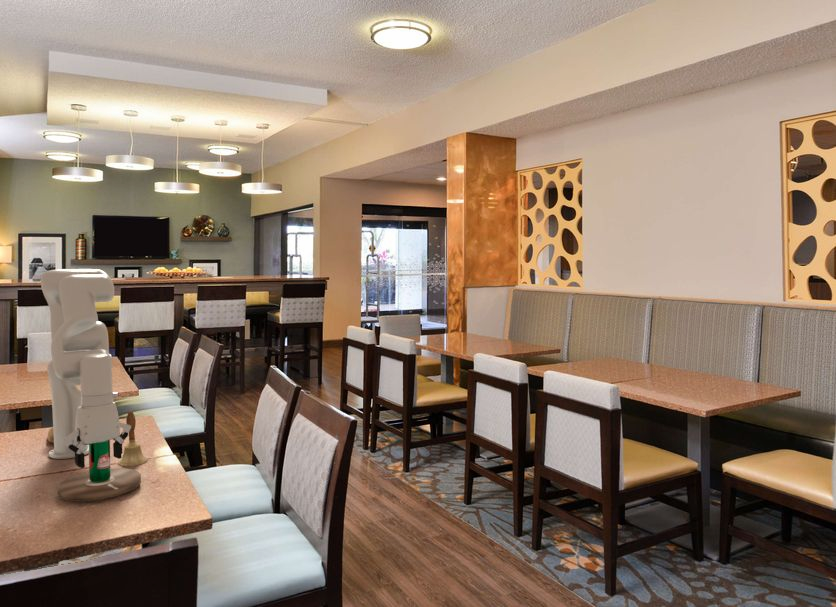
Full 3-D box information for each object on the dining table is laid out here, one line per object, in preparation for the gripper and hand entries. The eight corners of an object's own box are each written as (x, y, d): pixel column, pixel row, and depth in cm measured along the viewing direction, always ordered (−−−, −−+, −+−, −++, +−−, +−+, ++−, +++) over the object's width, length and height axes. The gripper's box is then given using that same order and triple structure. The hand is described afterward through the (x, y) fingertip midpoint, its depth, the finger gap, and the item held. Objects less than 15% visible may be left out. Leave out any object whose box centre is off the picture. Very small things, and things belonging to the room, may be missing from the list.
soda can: (100, 484, 160) (99, 439, 159) (85, 482, 161) (84, 438, 161) (114, 478, 165) (114, 434, 164) (100, 476, 166) (99, 433, 166)
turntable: (44, 488, 161) (44, 483, 161) (119, 468, 177) (119, 463, 177) (77, 507, 149) (77, 501, 149) (155, 484, 165) (154, 478, 165)
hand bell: (136, 467, 181) (134, 415, 180) (111, 465, 183) (109, 414, 182) (153, 458, 190) (151, 408, 188) (130, 456, 191) (128, 407, 190)
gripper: (122, 392, 170) (124, 451, 172) (56, 403, 157) (59, 468, 158) (135, 396, 166) (137, 456, 167) (68, 408, 152) (71, 474, 153)
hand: (99, 462), depth 163 cm, fingers open, 9 cm apart
